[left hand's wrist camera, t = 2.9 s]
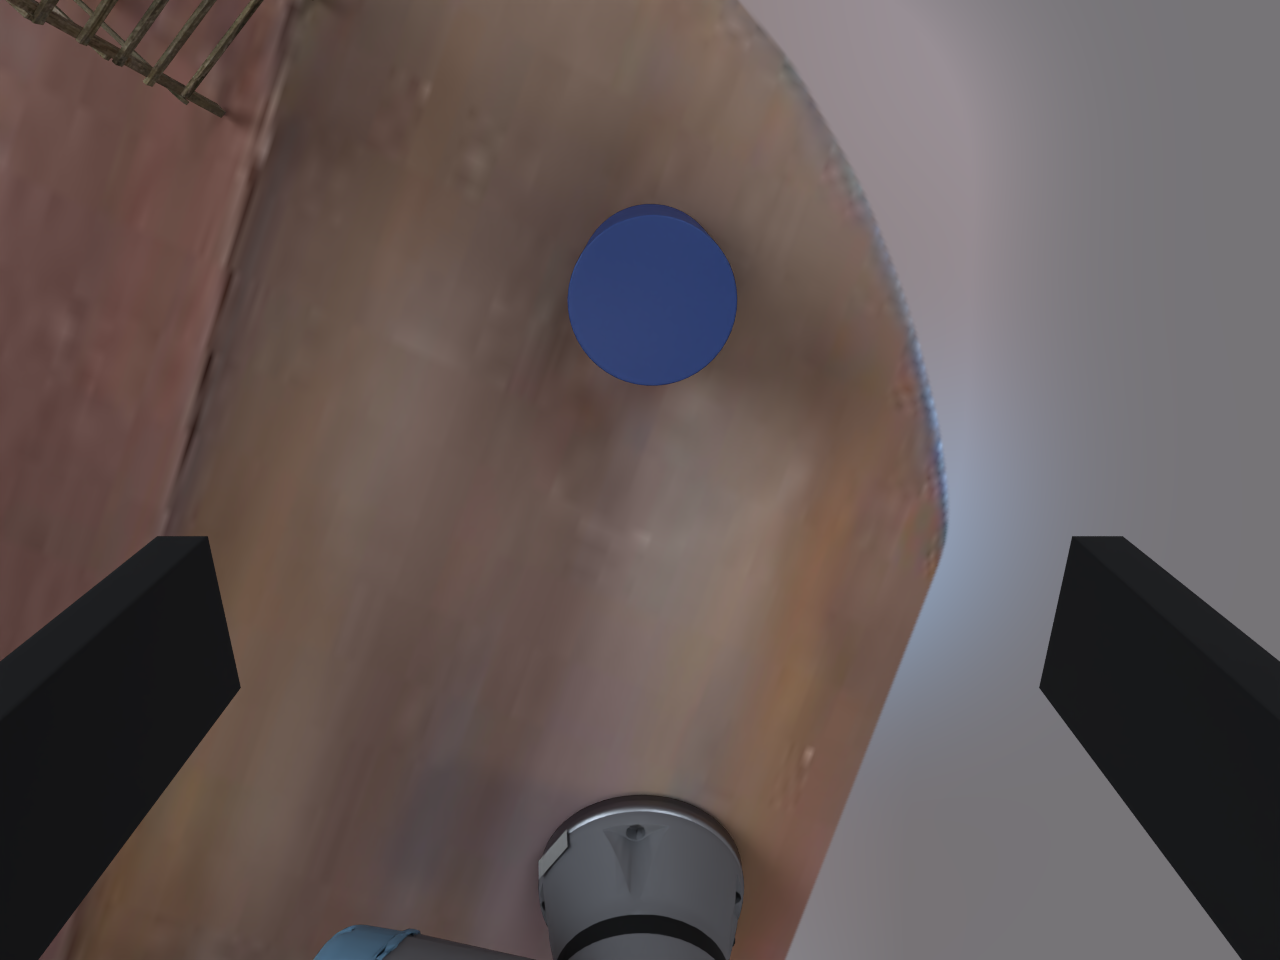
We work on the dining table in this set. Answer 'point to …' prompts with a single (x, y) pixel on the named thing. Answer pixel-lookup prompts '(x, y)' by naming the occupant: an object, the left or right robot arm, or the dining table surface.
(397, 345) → the dining table surface
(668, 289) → the can
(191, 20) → the miniature windmill
